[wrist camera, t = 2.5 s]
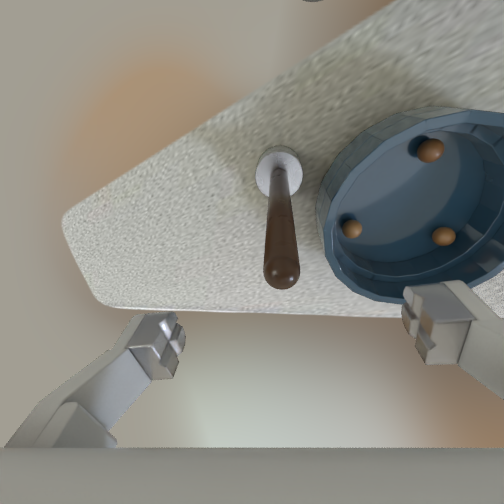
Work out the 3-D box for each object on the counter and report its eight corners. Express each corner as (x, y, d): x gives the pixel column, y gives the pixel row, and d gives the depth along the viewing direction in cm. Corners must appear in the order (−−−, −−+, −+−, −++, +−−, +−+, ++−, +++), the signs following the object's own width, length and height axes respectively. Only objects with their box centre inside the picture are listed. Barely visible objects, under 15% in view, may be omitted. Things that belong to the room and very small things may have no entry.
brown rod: (253, 150, 25) (215, 245, 10) (297, 141, 24) (334, 226, 9) (261, 192, 27) (242, 324, 12) (302, 185, 26) (339, 315, 11)
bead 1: (339, 218, 27) (344, 226, 26) (359, 215, 27) (364, 223, 25) (340, 234, 28) (344, 243, 27) (359, 231, 28) (364, 240, 26)
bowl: (307, 131, 24) (315, 142, 19) (526, 82, 20) (608, 80, 15) (321, 277, 33) (329, 311, 28) (475, 259, 29) (516, 294, 24)
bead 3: (429, 225, 27) (439, 234, 25) (450, 222, 27) (462, 231, 25) (427, 241, 28) (436, 250, 26) (447, 238, 28) (457, 247, 26)
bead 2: (413, 139, 23) (424, 143, 21) (438, 134, 22) (451, 138, 21) (411, 161, 24) (421, 167, 22) (434, 157, 23) (447, 162, 22)
